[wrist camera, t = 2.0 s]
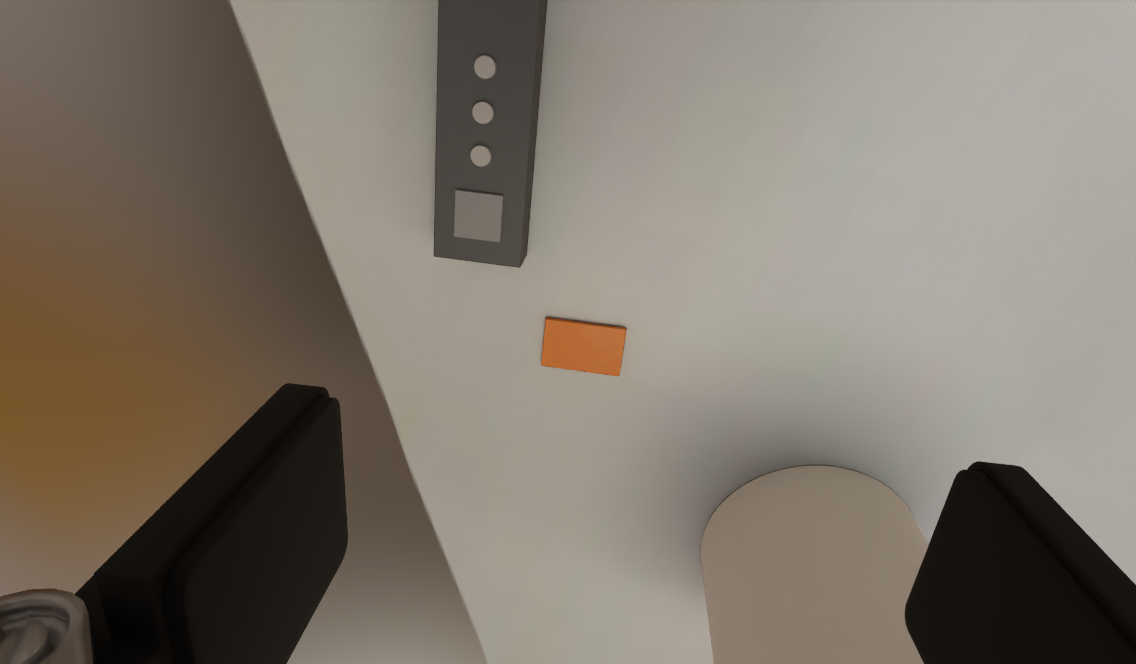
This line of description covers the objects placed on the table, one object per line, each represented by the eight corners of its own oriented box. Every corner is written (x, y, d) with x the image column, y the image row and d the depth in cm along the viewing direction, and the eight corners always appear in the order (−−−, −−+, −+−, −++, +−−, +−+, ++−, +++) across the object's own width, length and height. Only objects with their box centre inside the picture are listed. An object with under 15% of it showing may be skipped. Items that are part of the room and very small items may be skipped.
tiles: (594, -177, 28) (593, -179, 28) (702, -166, 28) (702, -168, 28) (541, 363, 39) (541, 365, 39) (619, 374, 39) (619, 376, 38)
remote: (451, -20, 31) (436, -25, 29) (548, -10, 31) (541, -14, 29) (444, 244, 36) (431, 258, 34) (526, 255, 36) (519, 269, 34)
